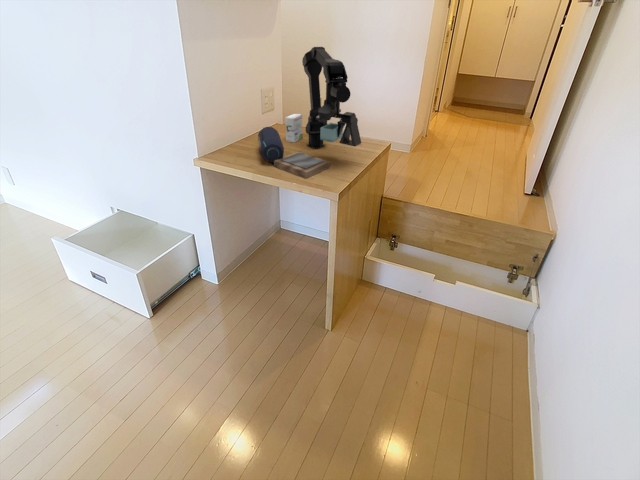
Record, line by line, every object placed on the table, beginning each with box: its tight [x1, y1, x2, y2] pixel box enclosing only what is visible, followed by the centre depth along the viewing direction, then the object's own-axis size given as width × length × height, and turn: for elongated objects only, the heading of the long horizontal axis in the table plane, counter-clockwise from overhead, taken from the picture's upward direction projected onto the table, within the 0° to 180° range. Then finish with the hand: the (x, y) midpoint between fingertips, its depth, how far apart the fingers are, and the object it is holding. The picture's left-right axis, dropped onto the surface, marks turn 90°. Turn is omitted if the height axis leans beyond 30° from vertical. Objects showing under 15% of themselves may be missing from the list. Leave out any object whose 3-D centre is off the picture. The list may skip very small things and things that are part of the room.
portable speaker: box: [257, 126, 285, 163], centre depth 157 cm, size 25×10×10 cm, turn 12°
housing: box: [320, 122, 344, 143], centre depth 149 cm, size 6×10×5 cm, turn 151°
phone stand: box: [339, 117, 362, 147], centre depth 173 cm, size 9×6×12 cm, turn 55°
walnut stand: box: [273, 151, 331, 179], centre depth 149 cm, size 18×15×3 cm
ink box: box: [284, 113, 303, 143], centre depth 176 cm, size 8×5×12 cm, turn 153°
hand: (331, 135), depth 150 cm, fingers closed on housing, 6 cm apart
